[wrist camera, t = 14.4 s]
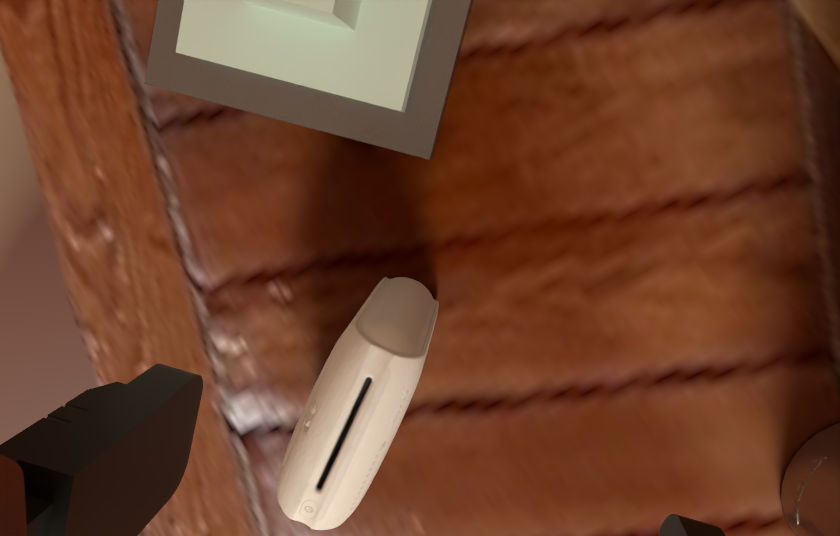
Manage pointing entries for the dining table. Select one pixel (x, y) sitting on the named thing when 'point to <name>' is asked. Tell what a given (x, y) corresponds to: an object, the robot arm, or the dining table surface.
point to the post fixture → (314, 106)
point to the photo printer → (357, 405)
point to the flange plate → (313, 42)
